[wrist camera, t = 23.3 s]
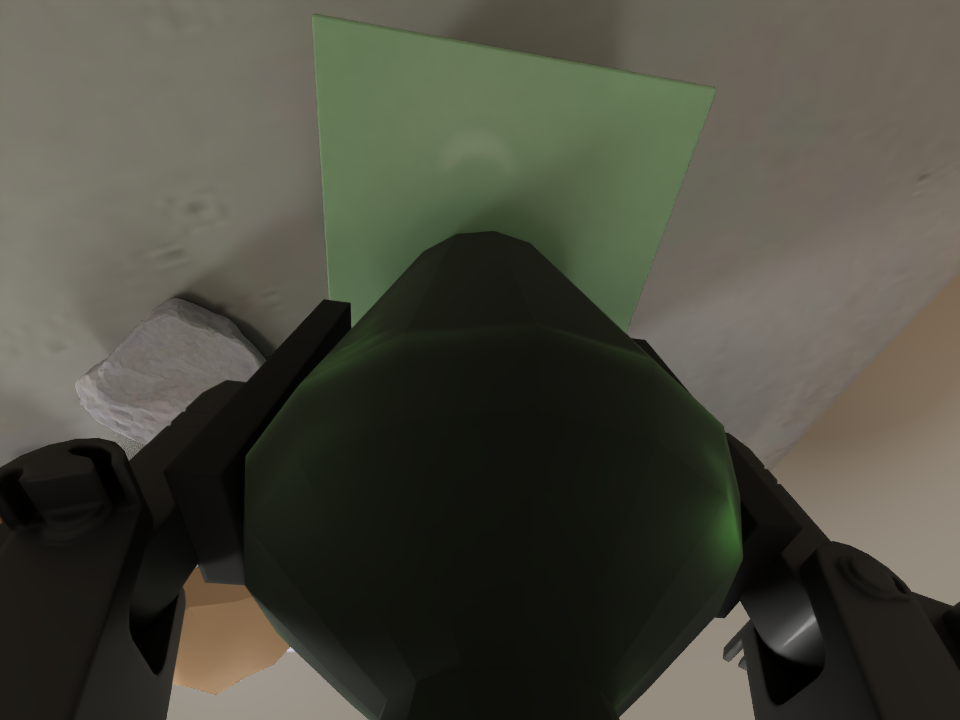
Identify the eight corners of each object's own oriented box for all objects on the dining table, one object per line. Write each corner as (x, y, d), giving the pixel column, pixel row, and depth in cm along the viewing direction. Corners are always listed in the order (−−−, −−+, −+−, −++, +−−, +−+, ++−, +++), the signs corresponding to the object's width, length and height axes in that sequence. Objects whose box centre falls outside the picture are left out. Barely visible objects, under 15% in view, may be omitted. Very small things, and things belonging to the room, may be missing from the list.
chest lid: (321, 19, 11) (310, 12, 10) (704, 90, 12) (719, 87, 11) (342, 430, 19) (336, 442, 18) (573, 454, 20) (577, 466, 19)
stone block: (194, 270, 24) (98, 372, 26) (149, 288, 20) (37, 410, 21) (343, 385, 29) (256, 466, 31) (333, 419, 25) (232, 511, 26)
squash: (158, 558, 37) (69, 656, 28) (346, 484, 36) (312, 562, 27) (224, 631, 40) (162, 739, 32) (397, 566, 39) (382, 658, 31)
